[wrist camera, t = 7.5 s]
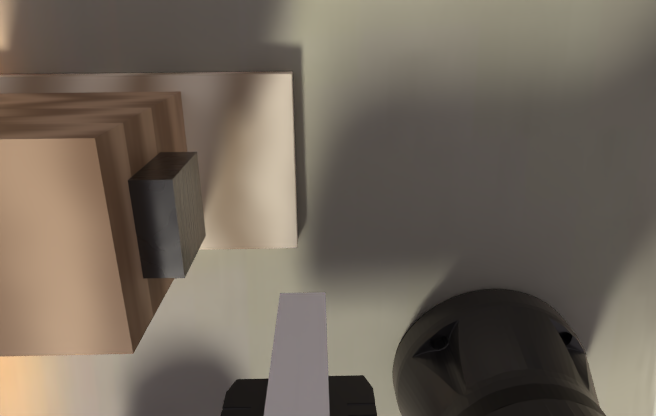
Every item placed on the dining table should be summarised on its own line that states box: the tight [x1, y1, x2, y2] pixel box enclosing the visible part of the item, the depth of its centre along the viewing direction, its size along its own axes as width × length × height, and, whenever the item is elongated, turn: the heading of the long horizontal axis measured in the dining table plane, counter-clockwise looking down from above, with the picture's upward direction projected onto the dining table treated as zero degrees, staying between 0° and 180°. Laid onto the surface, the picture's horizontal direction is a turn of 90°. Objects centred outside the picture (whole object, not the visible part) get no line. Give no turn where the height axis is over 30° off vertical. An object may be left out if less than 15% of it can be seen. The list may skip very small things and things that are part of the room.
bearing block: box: [0, 71, 298, 356], centre depth 28 cm, size 20×12×14 cm, turn 90°
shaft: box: [128, 152, 206, 279], centre depth 25 cm, size 16×5×5 cm, turn 90°
